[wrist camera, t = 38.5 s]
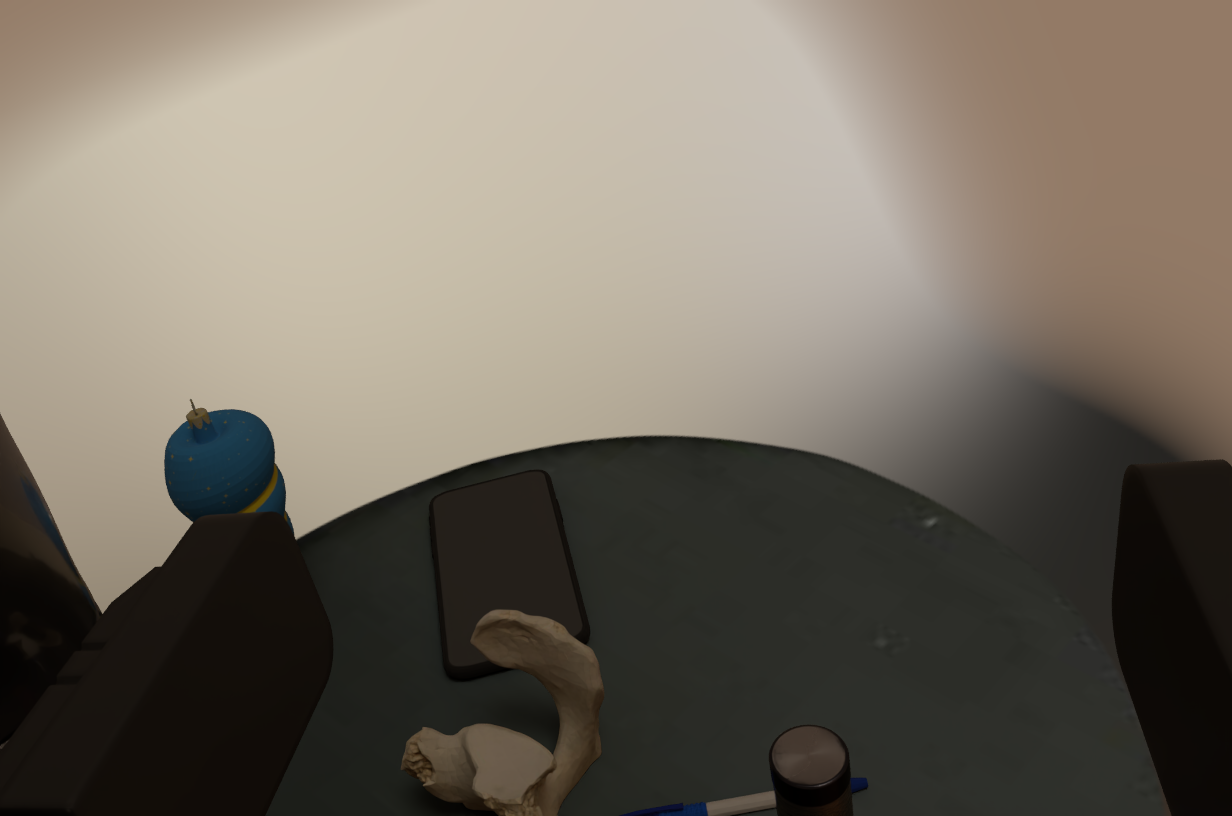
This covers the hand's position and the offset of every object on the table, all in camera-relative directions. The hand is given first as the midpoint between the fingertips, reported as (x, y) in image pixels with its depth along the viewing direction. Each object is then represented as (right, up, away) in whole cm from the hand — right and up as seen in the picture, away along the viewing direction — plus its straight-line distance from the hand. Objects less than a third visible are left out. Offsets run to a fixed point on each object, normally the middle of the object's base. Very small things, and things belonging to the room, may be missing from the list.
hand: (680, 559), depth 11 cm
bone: (-4, -15, +35) cm, 38 cm away
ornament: (-17, -11, +46) cm, 50 cm away
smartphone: (-7, -7, +48) cm, 49 cm away
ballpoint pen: (+4, -15, +33) cm, 36 cm away
